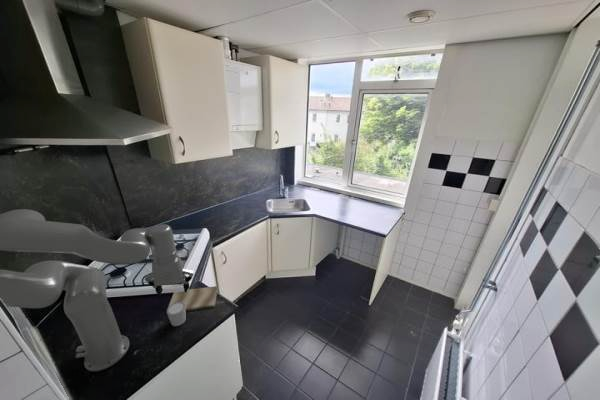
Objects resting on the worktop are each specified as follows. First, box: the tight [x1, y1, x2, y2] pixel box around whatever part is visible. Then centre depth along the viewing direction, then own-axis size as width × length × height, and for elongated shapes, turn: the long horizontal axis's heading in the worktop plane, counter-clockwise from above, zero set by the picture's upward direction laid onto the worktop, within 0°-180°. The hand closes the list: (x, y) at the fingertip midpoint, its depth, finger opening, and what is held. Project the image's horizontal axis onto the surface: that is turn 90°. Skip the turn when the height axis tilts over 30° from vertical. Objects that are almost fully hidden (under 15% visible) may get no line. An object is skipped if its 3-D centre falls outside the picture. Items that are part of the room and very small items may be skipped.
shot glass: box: [166, 302, 187, 327], centre depth 93 cm, size 7×7×7 cm
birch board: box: [167, 285, 219, 312], centre depth 105 cm, size 20×12×1 cm, turn 103°
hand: (173, 291), depth 89 cm, fingers open, 9 cm apart
